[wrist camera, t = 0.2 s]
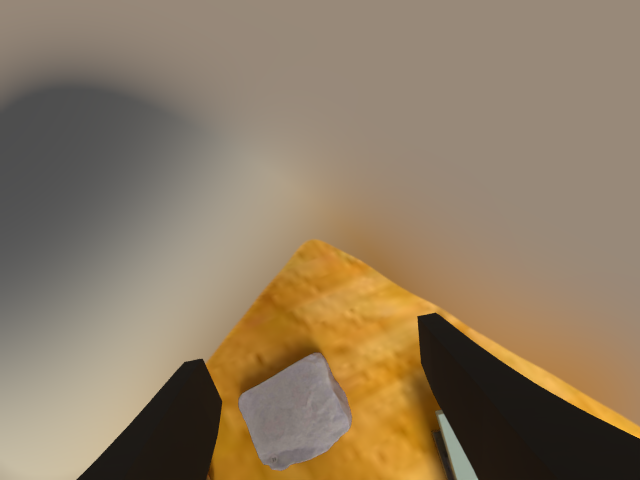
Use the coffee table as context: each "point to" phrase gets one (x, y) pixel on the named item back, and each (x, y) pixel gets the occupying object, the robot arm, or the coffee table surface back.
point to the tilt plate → (455, 451)
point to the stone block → (296, 413)
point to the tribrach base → (443, 454)
